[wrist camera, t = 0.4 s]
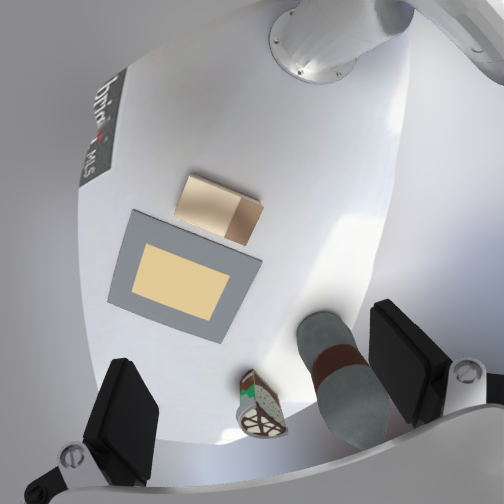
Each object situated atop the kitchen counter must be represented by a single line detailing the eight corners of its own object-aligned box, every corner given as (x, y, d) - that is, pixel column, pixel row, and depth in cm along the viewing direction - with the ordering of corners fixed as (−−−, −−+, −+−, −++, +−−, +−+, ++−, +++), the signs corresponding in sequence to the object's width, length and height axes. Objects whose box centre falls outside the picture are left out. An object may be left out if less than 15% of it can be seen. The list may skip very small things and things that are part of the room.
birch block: (192, 173, 38) (188, 176, 34) (259, 201, 40) (263, 207, 36) (177, 210, 39) (172, 217, 36) (243, 236, 42) (245, 246, 38)
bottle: (284, 345, 49) (331, 502, 21) (308, 302, 46) (387, 463, 18) (328, 354, 51) (390, 492, 23) (353, 315, 48) (441, 451, 20)
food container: (220, 377, 51) (221, 419, 41) (248, 364, 50) (254, 405, 41) (254, 409, 55) (260, 447, 46) (280, 397, 54) (289, 435, 45)
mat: (133, 209, 38) (132, 210, 38) (262, 261, 43) (262, 262, 42) (108, 300, 43) (106, 302, 42) (220, 342, 48) (220, 344, 47)
